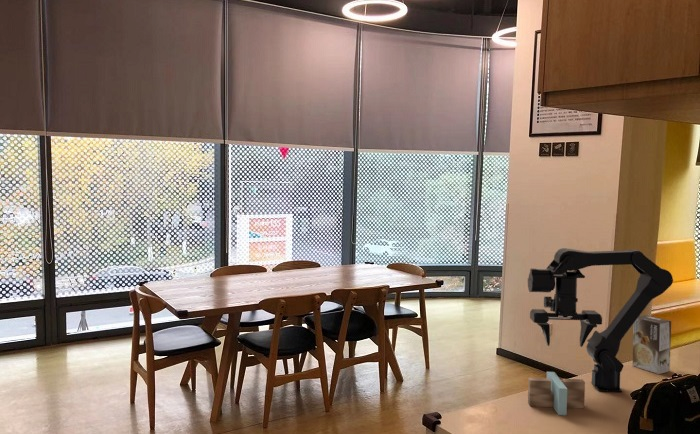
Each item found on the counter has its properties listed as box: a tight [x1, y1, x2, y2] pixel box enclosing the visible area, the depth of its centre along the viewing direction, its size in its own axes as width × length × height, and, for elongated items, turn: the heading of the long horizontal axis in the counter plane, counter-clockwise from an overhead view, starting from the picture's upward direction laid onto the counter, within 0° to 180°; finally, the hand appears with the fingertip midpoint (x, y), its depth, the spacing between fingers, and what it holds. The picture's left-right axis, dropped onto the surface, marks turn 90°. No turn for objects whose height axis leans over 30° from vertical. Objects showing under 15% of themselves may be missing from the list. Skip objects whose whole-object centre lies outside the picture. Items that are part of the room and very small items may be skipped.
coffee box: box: [632, 314, 672, 375], centre depth 171 cm, size 9×6×16 cm
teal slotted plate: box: [546, 371, 568, 416], centre depth 144 cm, size 12×2×7 cm, turn 174°
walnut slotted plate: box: [527, 377, 586, 409], centre depth 143 cm, size 14×2×7 cm, turn 84°
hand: (564, 345), depth 156 cm, fingers open, 9 cm apart
